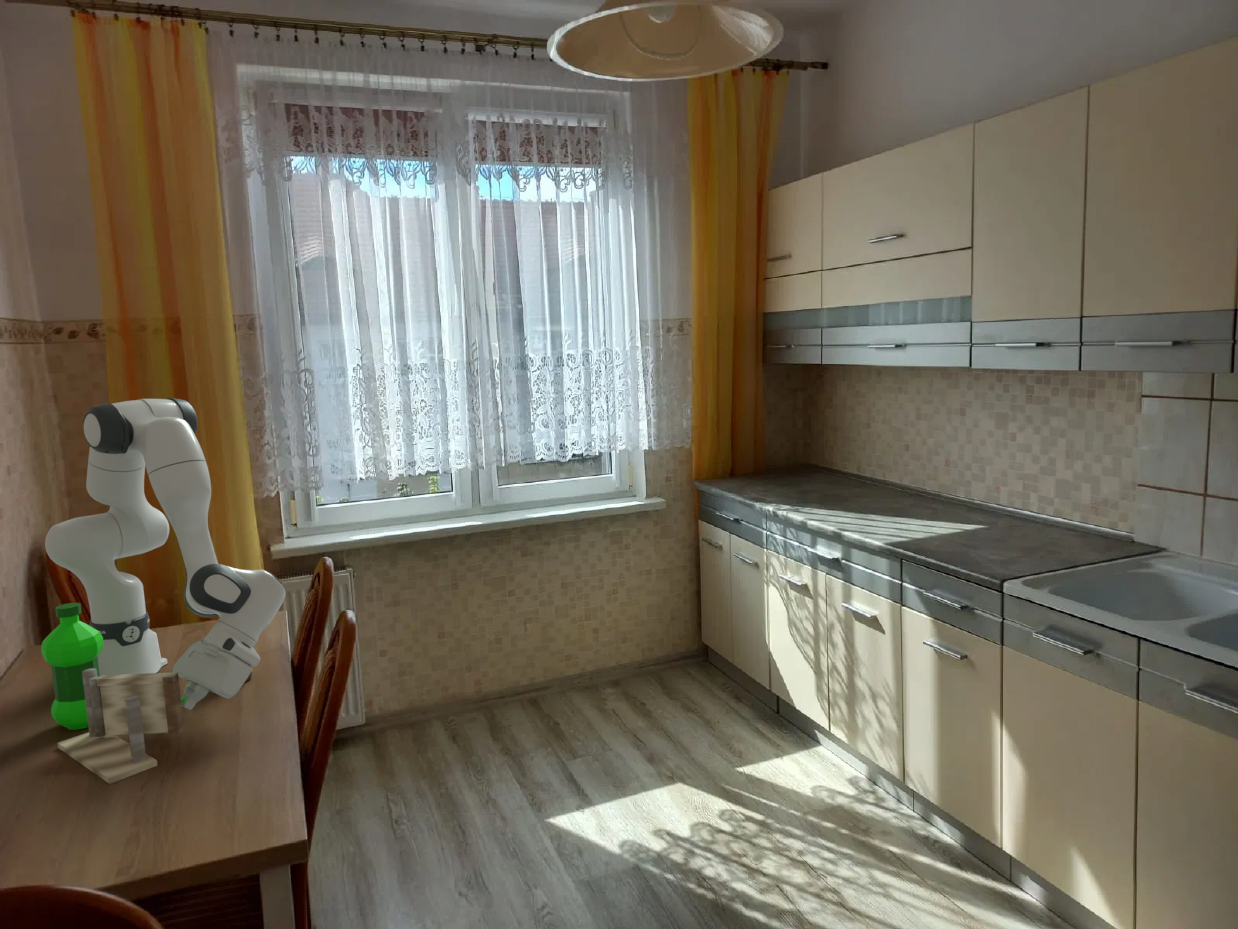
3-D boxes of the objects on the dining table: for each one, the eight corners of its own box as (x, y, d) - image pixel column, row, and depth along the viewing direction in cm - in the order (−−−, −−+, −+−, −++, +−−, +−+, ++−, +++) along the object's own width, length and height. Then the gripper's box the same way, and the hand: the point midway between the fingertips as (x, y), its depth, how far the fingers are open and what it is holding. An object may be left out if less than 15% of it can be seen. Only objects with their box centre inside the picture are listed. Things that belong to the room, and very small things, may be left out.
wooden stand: (58, 747, 161) (49, 678, 159) (103, 732, 167) (95, 665, 166) (109, 784, 146) (100, 707, 145) (157, 765, 153) (149, 692, 151)
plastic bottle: (76, 713, 177) (62, 598, 174) (123, 714, 176) (109, 598, 173) (39, 735, 167) (23, 613, 164) (88, 735, 166) (73, 613, 163)
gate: (93, 737, 162) (86, 679, 160) (99, 732, 164) (92, 675, 162) (178, 733, 162) (172, 676, 160) (183, 729, 164) (177, 672, 162)
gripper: (191, 628, 176) (147, 688, 170) (241, 646, 163) (195, 712, 157) (214, 642, 180) (172, 701, 174) (265, 661, 167) (221, 726, 161)
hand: (184, 707), depth 165 cm, fingers closed
